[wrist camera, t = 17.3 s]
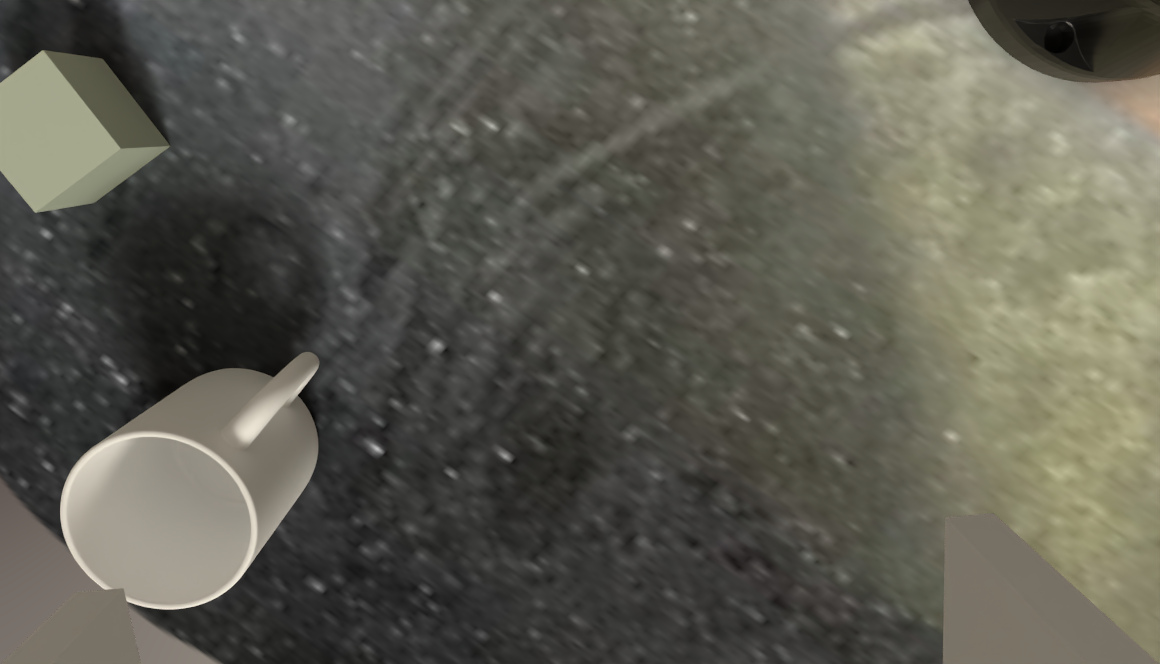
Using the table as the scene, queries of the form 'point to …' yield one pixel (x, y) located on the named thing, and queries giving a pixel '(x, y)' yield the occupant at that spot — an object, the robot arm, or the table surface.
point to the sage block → (71, 131)
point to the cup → (192, 486)
